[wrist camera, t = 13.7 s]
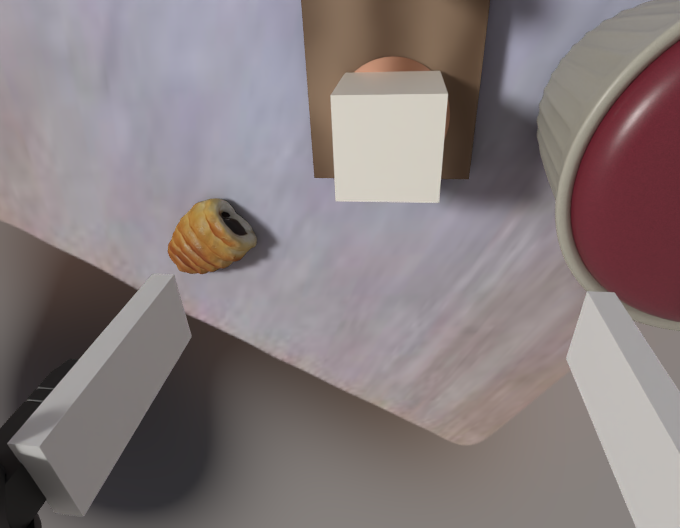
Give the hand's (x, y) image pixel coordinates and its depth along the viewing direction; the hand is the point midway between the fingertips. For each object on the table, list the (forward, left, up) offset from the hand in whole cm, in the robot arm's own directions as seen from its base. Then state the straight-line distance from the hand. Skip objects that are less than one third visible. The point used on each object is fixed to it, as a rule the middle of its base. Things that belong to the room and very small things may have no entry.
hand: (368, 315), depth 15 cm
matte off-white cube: (0, 0, -24) cm, 24 cm away
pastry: (+18, +12, -27) cm, 35 cm away
